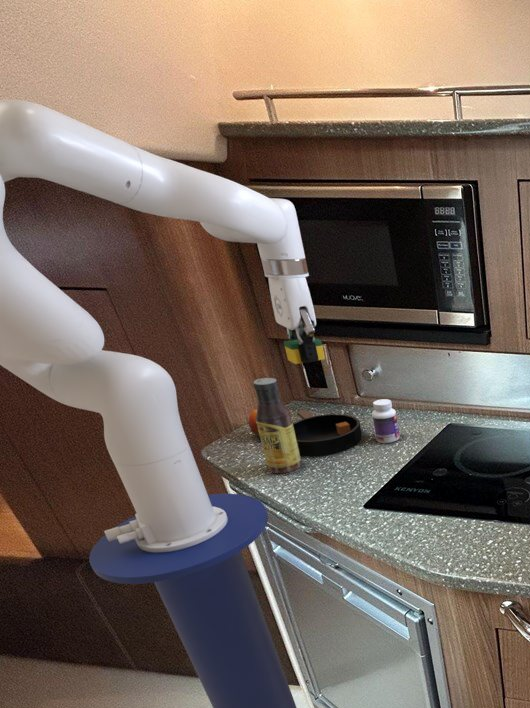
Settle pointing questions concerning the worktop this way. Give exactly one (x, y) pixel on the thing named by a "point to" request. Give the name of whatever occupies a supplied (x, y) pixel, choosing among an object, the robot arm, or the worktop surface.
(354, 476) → the worktop surface
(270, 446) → the sauce bottle
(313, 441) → the pan
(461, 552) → the worktop surface
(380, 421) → the pill bottle
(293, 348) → the sponge
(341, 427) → the block
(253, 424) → the fruit
